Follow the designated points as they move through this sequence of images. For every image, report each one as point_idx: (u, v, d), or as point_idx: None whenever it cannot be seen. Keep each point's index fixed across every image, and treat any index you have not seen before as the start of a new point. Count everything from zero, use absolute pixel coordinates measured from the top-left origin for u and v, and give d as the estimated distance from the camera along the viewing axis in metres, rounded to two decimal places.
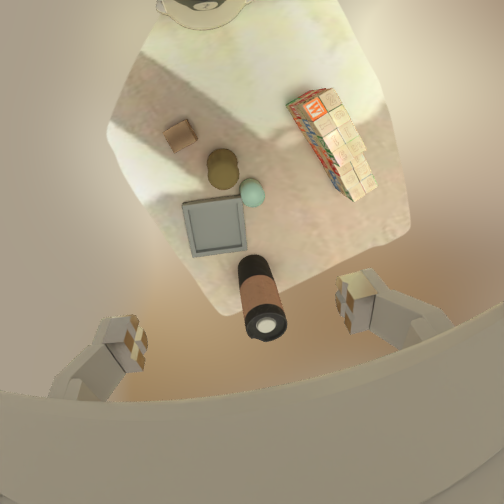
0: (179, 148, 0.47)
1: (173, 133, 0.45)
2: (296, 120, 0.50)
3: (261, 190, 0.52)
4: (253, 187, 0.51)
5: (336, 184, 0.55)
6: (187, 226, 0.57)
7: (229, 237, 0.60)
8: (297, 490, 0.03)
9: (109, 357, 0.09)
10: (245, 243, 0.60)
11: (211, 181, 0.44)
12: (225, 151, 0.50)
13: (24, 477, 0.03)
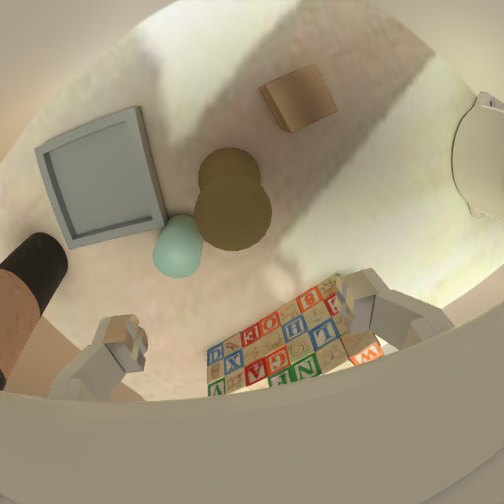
0: (276, 96, 0.19)
1: (311, 85, 0.19)
2: (314, 293, 0.34)
3: (190, 271, 0.26)
4: (194, 256, 0.25)
5: (218, 359, 0.36)
6: (91, 125, 0.20)
7: (83, 211, 0.26)
8: (297, 490, 0.03)
9: (109, 357, 0.09)
10: (79, 244, 0.26)
11: (218, 191, 0.17)
12: None
13: (24, 477, 0.03)
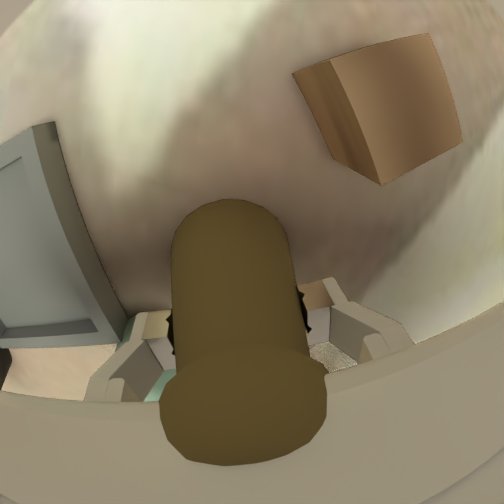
0: (356, 93, 0.07)
1: (424, 77, 0.07)
2: None
3: None
4: None
5: None
6: None
7: (3, 299, 0.13)
8: (297, 490, 0.03)
9: (149, 354, 0.09)
10: (10, 345, 0.13)
11: (213, 451, 0.04)
12: None
13: (24, 477, 0.03)
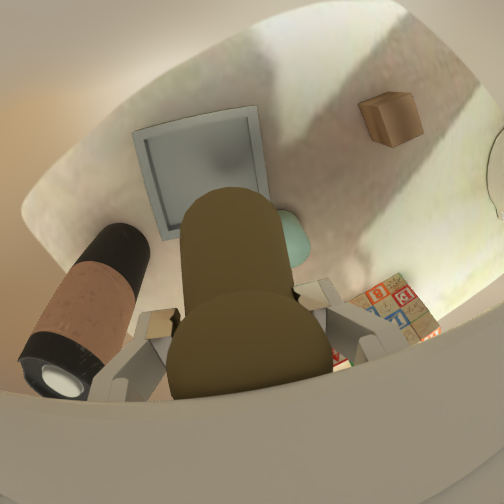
0: (385, 117, 0.22)
1: (408, 110, 0.22)
2: (381, 288, 0.38)
3: (300, 261, 0.29)
4: (305, 247, 0.28)
5: None
6: (207, 116, 0.23)
7: (182, 201, 0.29)
8: (297, 490, 0.03)
9: (152, 353, 0.09)
10: (176, 236, 0.29)
11: (220, 363, 0.06)
12: None
13: (24, 477, 0.03)
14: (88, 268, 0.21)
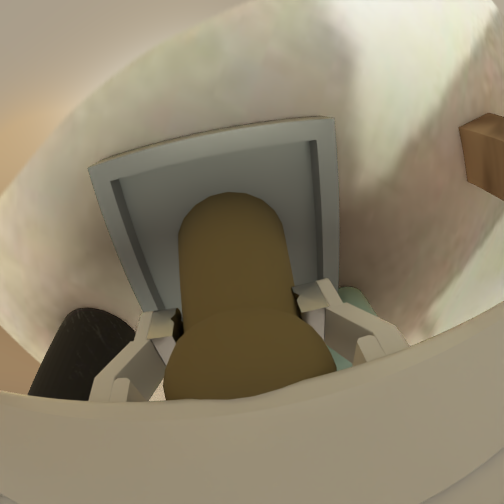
0: None
1: None
2: None
3: None
4: None
5: None
6: (239, 135, 0.12)
7: None
8: (297, 490, 0.03)
9: (154, 353, 0.09)
10: None
11: (219, 388, 0.06)
12: None
13: (24, 477, 0.03)
14: None
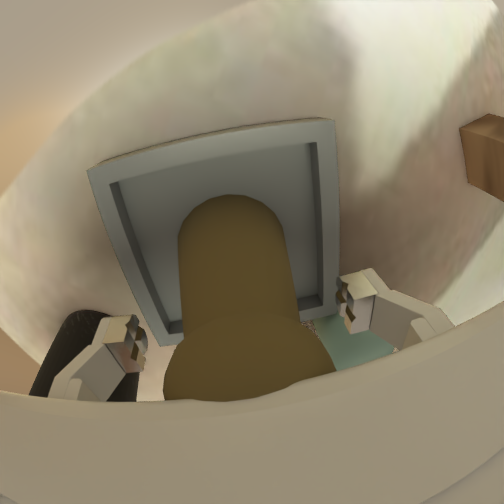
0: None
1: None
2: None
3: None
4: (387, 352, 0.16)
5: None
6: (238, 137, 0.12)
7: None
8: (297, 490, 0.03)
9: (109, 357, 0.09)
10: None
11: (219, 394, 0.06)
12: None
13: (24, 477, 0.03)
14: None
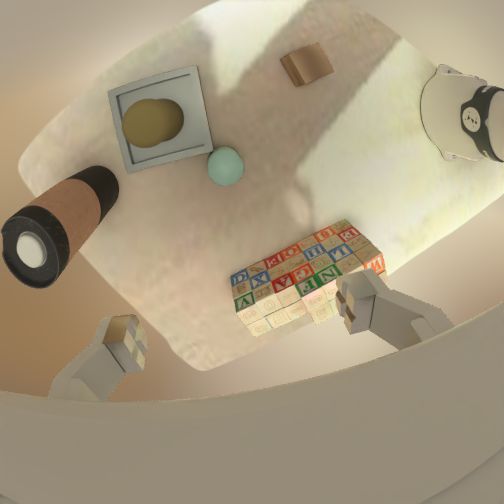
0: (295, 61, 0.28)
1: (316, 55, 0.28)
2: (328, 230, 0.44)
3: (237, 178, 0.34)
4: (239, 165, 0.33)
5: (244, 280, 0.44)
6: (161, 75, 0.29)
7: None
8: (297, 490, 0.03)
9: (109, 357, 0.09)
10: (138, 168, 0.34)
11: (134, 105, 0.22)
12: (180, 122, 0.32)
13: (24, 477, 0.03)
14: (67, 181, 0.26)
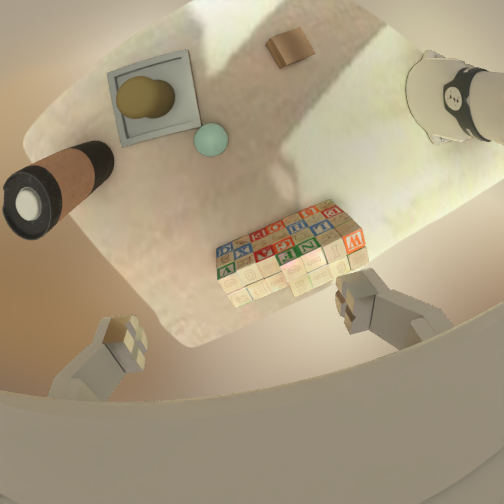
0: (277, 44, 0.29)
1: (298, 38, 0.29)
2: (312, 209, 0.45)
3: (221, 149, 0.35)
4: (223, 136, 0.34)
5: (228, 252, 0.45)
6: (155, 58, 0.30)
7: (137, 119, 0.35)
8: (297, 490, 0.03)
9: (109, 357, 0.09)
10: (132, 142, 0.35)
11: (127, 81, 0.24)
12: (171, 100, 0.33)
13: (24, 477, 0.03)
14: (66, 150, 0.27)
